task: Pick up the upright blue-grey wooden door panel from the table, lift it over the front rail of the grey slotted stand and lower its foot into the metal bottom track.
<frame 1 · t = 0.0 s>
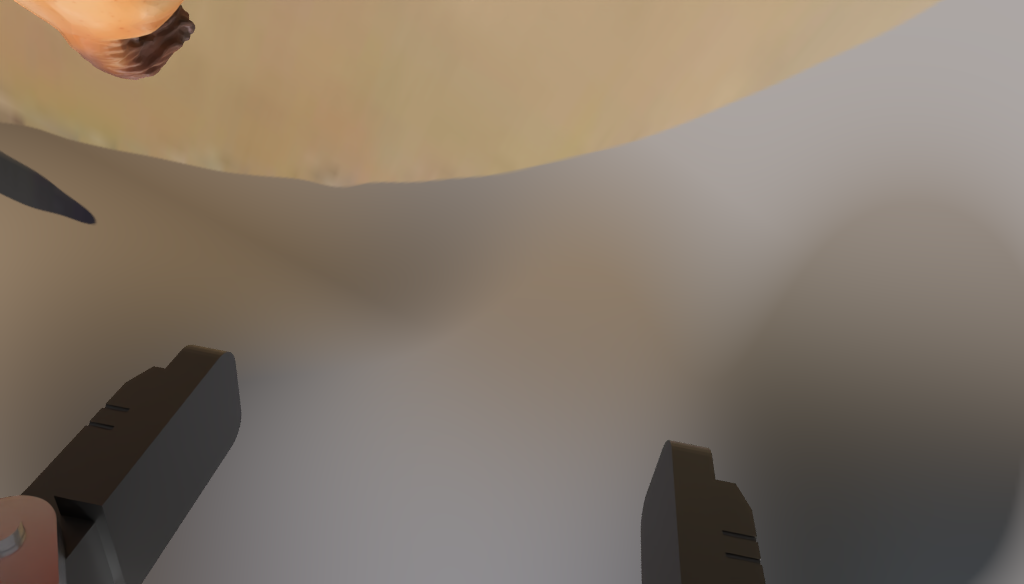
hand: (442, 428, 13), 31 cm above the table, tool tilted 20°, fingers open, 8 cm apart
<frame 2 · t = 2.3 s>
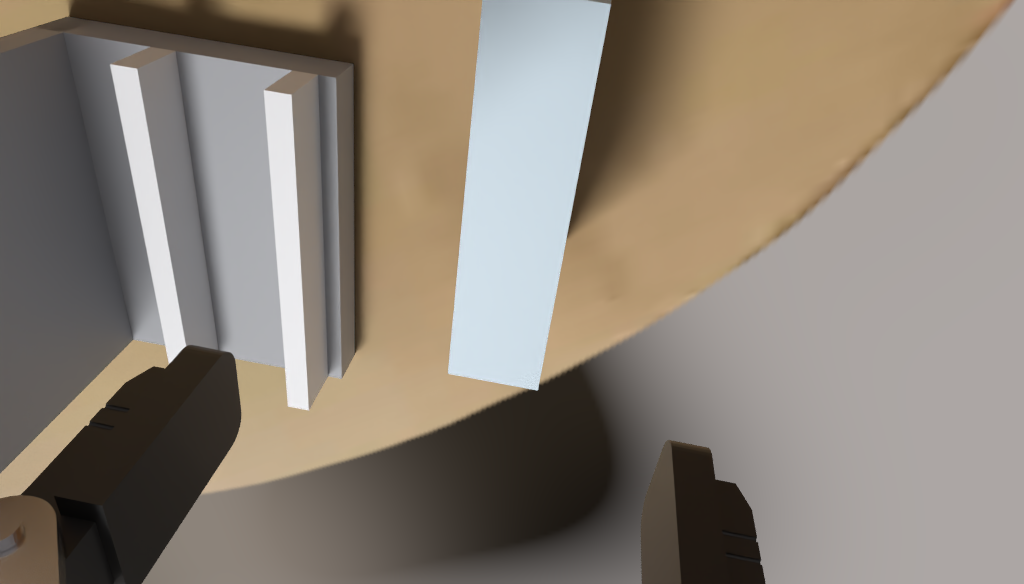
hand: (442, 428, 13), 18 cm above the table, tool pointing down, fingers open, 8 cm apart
grey slotted stand: (228, 205, 32), on the table
door panel: (548, 107, 28), on the table
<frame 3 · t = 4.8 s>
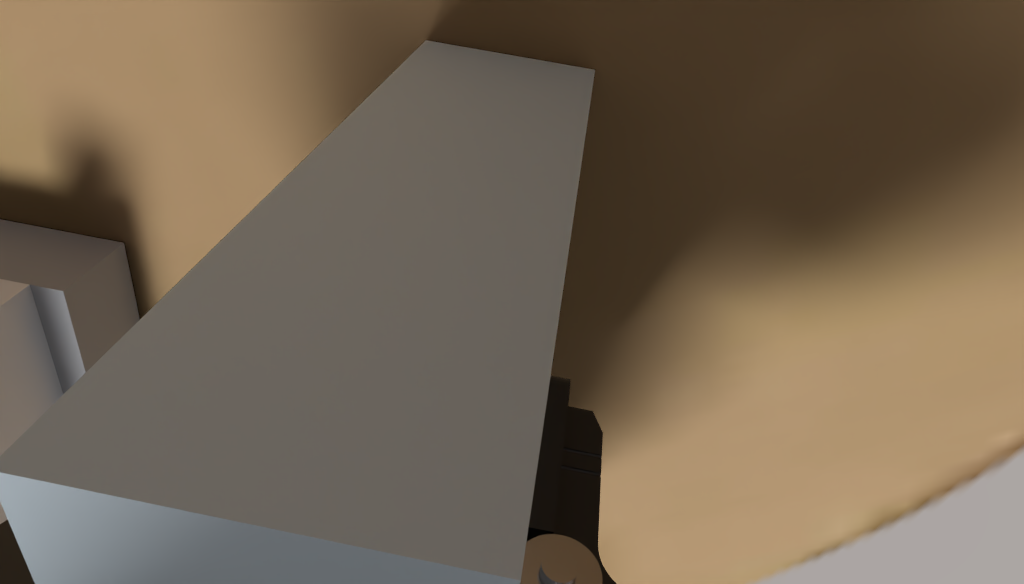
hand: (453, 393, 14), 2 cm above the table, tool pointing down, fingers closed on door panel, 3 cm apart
door panel: (475, 328, 15), on the table, touching gripper
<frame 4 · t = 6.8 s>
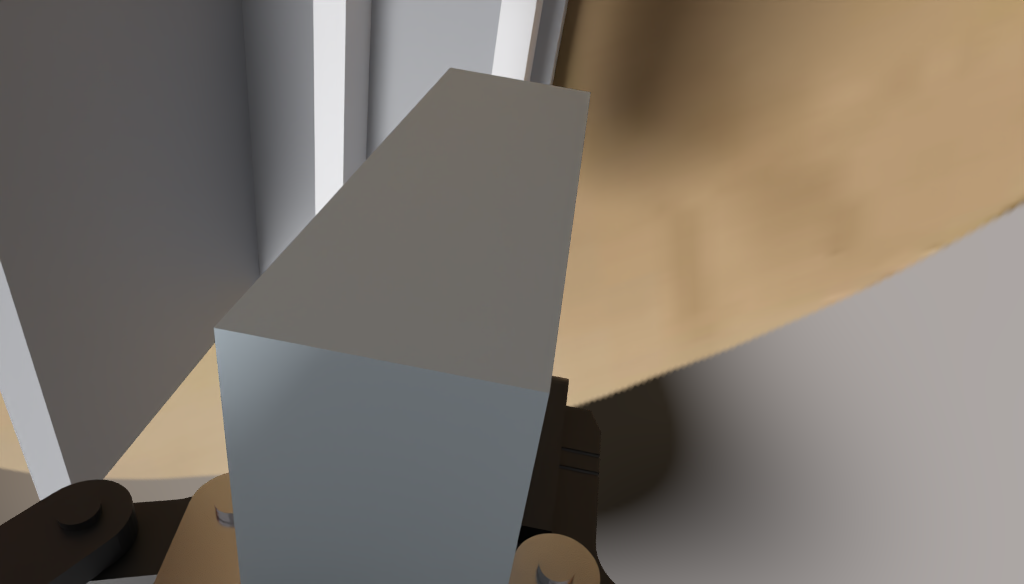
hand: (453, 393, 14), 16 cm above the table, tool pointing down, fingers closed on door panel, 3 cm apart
grey slotted stand: (389, 130, 28), on the table
door panel: (486, 315, 18), point 11 cm above the table, touching gripper
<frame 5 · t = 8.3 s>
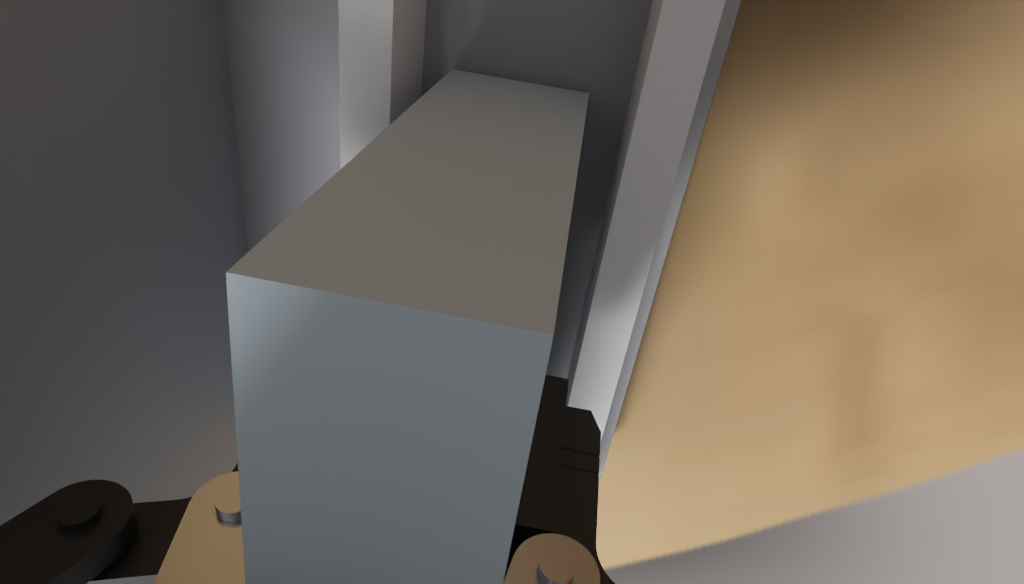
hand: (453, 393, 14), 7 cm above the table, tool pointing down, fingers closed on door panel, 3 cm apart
grey slotted stand: (441, 213, 20), on the table
door panel: (485, 317, 18), point 3 cm above the table, tilted 5°, touching gripper
when the fingers open (6 cm above the table, at t = 8.8 s): door panel stays where it is, resting on grey slotted stand.
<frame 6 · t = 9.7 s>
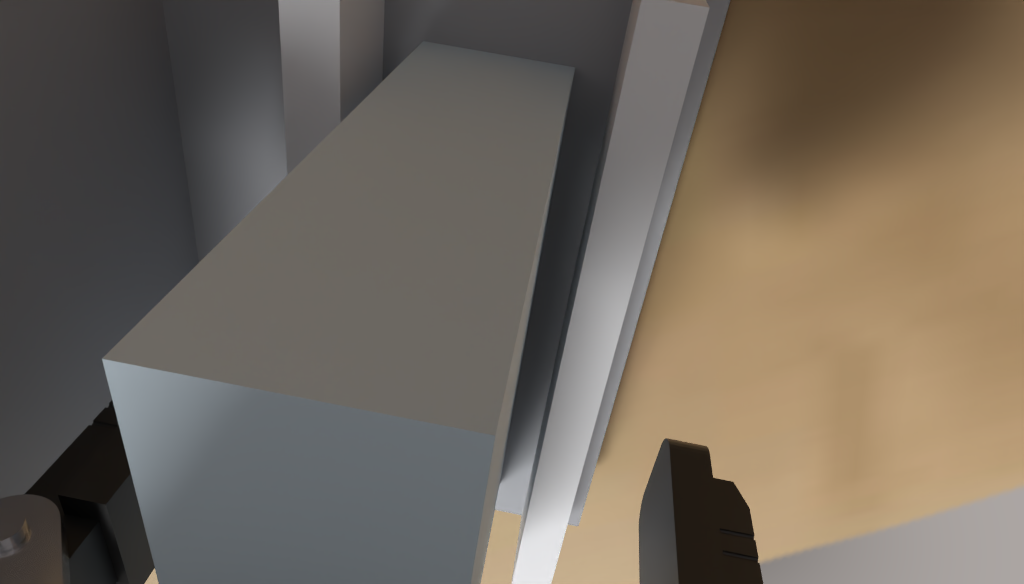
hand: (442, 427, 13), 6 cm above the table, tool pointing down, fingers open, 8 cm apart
grey slotted stand: (410, 238, 18), on the table
door panel: (468, 305, 17), point 2 cm above the table, touching grey slotted stand
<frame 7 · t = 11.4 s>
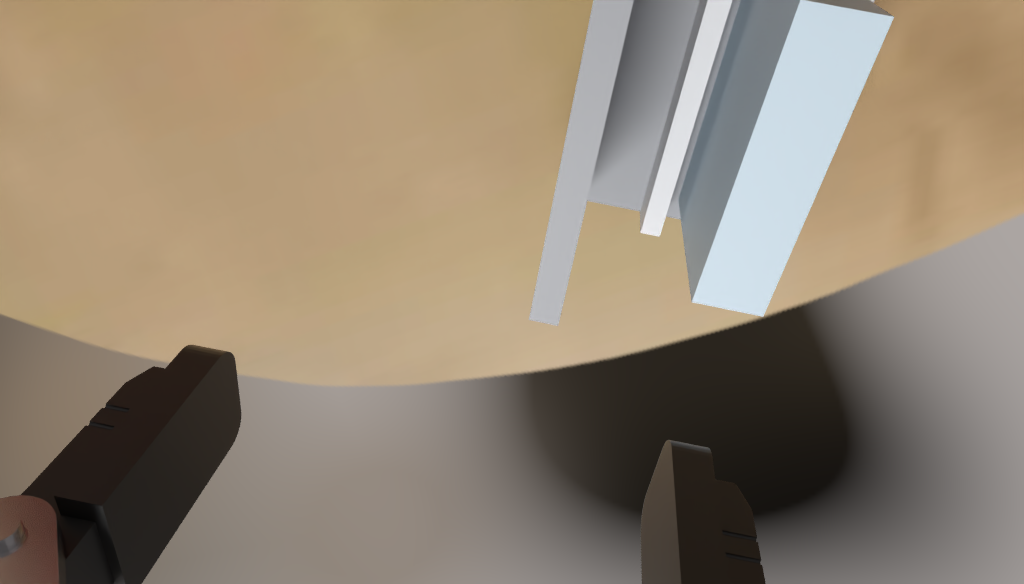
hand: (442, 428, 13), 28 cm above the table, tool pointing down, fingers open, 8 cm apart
grey slotted stand: (701, 69, 35), on the table
door panel: (743, 95, 34), point 2 cm above the table, touching grey slotted stand
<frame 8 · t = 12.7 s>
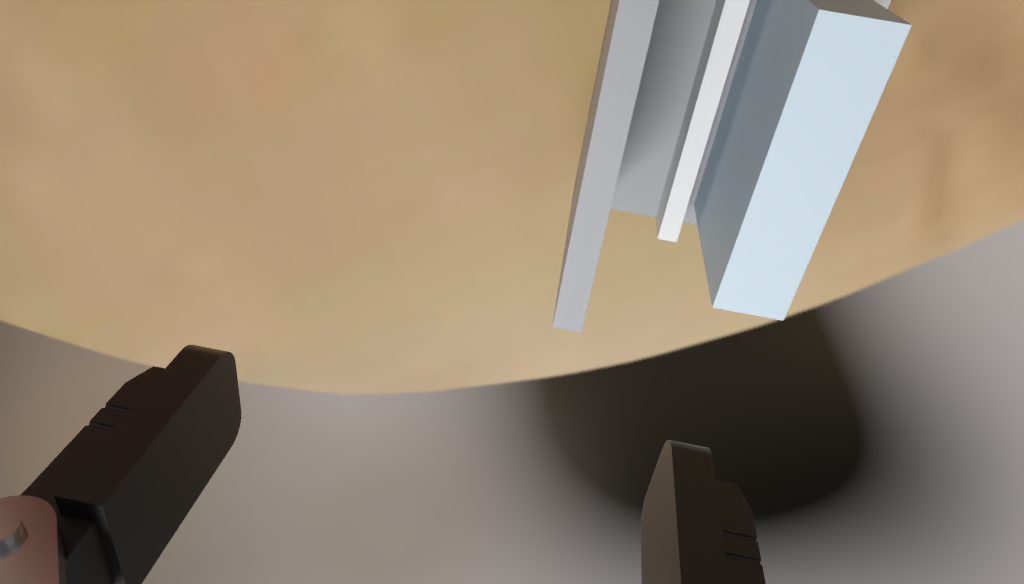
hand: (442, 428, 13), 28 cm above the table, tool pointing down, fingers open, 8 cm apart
grey slotted stand: (715, 75, 36), on the table
door panel: (757, 101, 34), point 2 cm above the table, touching grey slotted stand
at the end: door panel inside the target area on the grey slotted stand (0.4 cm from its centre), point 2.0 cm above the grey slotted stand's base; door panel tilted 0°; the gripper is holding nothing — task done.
